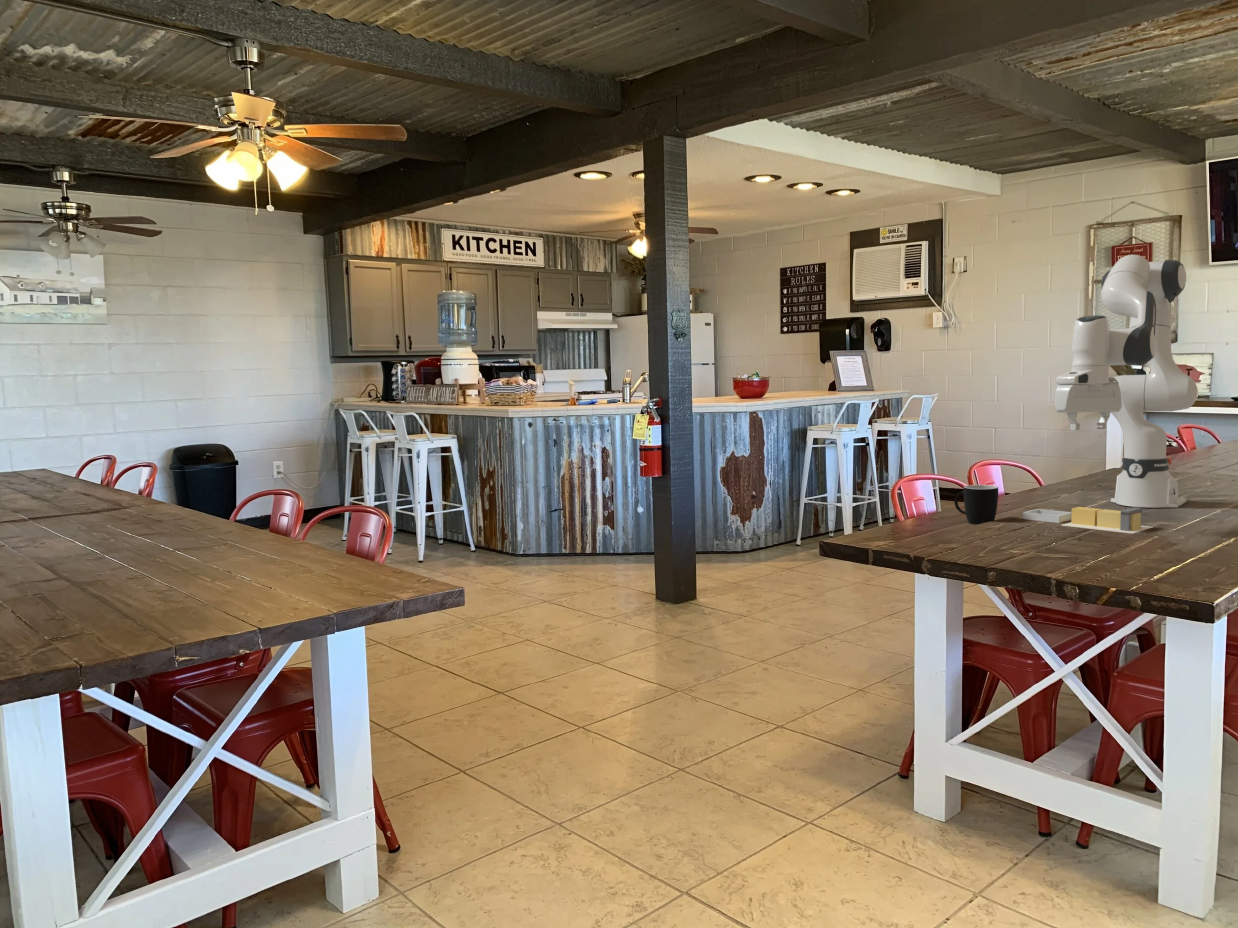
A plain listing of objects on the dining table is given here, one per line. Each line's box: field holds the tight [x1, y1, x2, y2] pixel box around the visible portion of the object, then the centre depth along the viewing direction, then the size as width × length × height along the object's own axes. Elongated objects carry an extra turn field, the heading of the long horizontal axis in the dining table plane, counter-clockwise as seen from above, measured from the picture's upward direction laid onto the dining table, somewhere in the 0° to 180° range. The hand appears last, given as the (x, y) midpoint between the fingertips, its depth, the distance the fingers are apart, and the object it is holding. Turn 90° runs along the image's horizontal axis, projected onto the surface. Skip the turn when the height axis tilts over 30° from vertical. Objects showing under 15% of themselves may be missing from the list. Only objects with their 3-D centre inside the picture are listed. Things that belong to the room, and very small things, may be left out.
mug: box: [954, 484, 999, 525], centre depth 256 cm, size 12×9×10 cm
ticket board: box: [1061, 506, 1154, 534], centre depth 237 cm, size 12×18×6 cm, turn 38°
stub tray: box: [1022, 508, 1072, 524], centre depth 251 cm, size 8×10×3 cm
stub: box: [1070, 506, 1103, 526], centre depth 241 cm, size 4×6×4 cm, turn 38°
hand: (1088, 429), depth 242 cm, fingers open, 8 cm apart
